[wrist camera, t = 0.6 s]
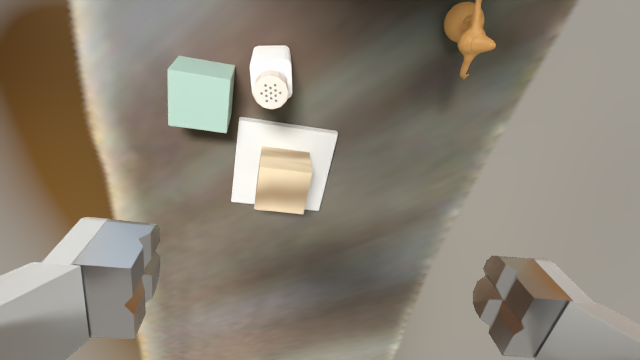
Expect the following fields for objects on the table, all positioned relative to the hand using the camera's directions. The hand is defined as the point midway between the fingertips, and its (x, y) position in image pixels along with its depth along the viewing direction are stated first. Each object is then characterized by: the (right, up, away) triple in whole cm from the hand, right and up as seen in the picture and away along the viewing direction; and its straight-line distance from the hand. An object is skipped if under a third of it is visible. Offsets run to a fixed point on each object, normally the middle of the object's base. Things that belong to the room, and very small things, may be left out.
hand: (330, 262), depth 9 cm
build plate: (-5, +4, +40) cm, 41 cm away
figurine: (+14, +20, +32) cm, 40 cm away
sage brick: (-13, +13, +34) cm, 38 cm away
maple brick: (-5, +3, +39) cm, 40 cm away
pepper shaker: (-6, +15, +33) cm, 37 cm away
